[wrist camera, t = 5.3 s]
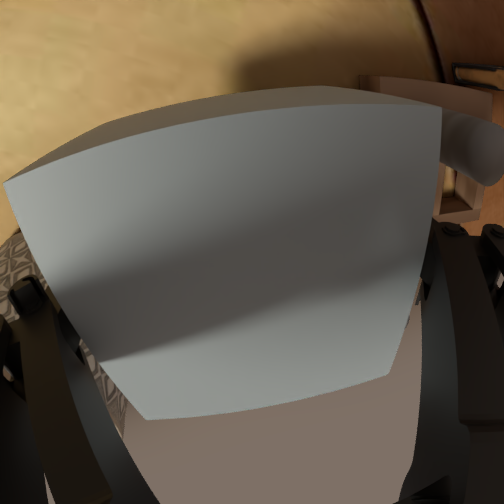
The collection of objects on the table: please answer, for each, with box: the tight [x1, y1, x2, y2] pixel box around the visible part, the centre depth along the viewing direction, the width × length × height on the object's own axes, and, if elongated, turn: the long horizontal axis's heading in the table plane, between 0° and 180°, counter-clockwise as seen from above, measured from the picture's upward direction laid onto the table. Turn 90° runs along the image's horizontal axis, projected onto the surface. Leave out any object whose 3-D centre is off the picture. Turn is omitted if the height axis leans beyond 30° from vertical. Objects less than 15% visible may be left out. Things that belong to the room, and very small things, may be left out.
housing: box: [3, 85, 442, 420], centre depth 11 cm, size 10×10×8 cm
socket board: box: [359, 75, 504, 224], centre depth 17 cm, size 12×12×10 cm
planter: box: [0, 232, 128, 441], centre depth 19 cm, size 16×16×13 cm
